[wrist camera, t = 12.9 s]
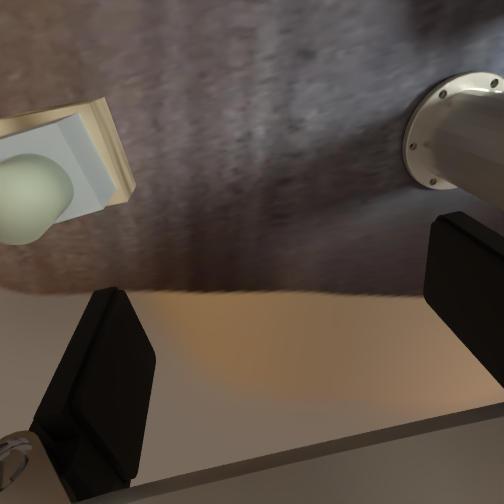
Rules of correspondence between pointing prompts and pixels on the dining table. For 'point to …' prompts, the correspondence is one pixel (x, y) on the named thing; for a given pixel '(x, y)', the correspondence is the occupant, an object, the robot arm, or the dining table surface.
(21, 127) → the tower base
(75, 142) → the tower top
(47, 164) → the sage cylinder
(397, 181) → the dining table surface
